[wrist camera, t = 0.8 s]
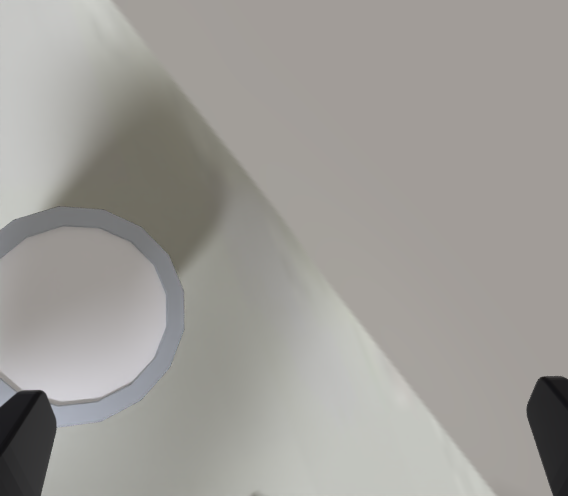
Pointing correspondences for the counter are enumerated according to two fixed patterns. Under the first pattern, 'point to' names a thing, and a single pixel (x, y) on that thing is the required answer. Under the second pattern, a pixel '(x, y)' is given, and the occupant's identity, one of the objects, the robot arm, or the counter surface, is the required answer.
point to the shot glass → (85, 312)
